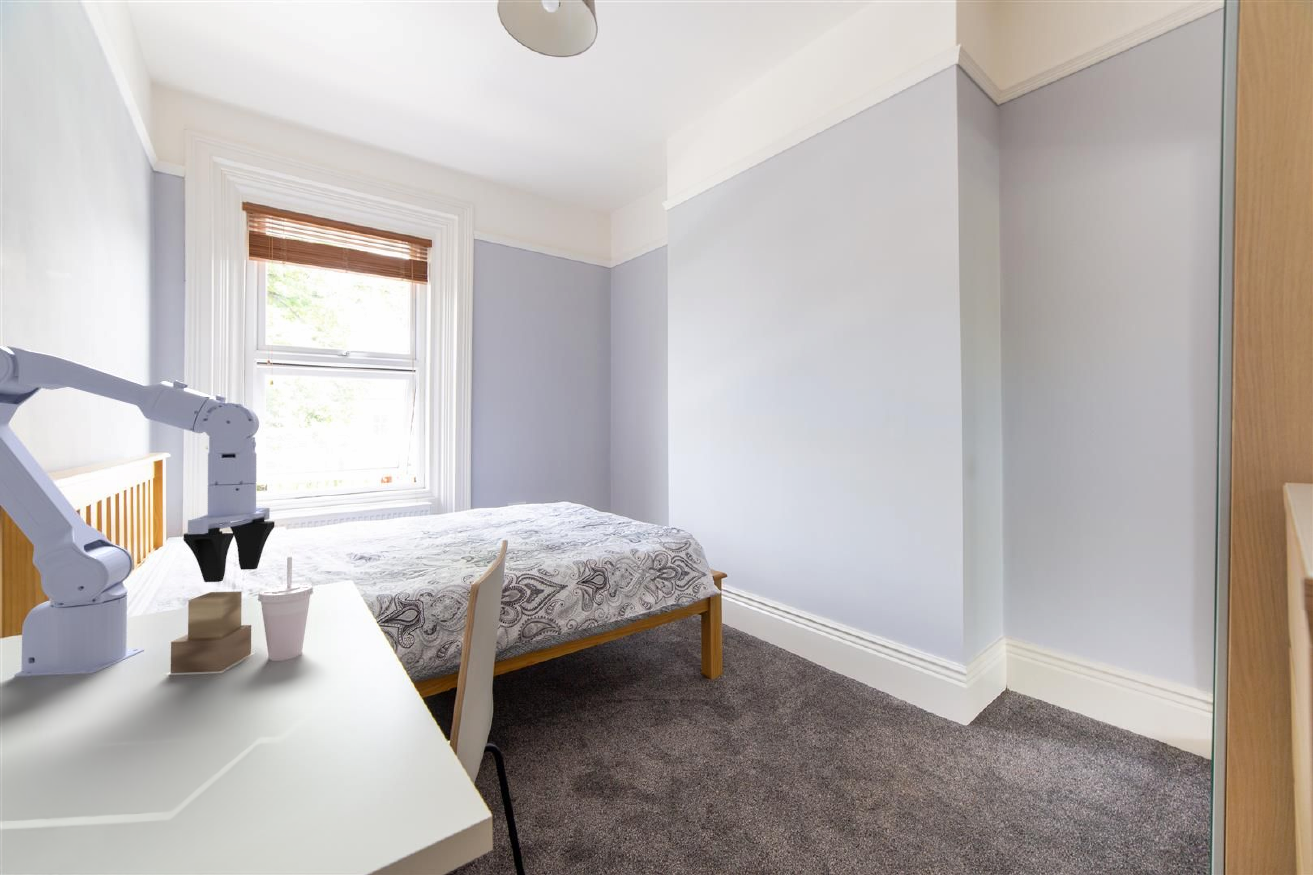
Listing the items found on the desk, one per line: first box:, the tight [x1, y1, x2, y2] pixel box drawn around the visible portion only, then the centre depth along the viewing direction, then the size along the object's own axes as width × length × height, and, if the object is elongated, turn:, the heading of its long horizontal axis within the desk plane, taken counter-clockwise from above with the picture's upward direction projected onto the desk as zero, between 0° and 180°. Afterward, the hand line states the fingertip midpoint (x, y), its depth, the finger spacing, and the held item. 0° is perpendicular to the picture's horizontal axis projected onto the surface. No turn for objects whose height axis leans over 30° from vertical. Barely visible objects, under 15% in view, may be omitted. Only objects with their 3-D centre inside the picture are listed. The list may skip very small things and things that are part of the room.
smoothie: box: [257, 556, 314, 662], centre depth 75 cm, size 6×6×14 cm
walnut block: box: [170, 624, 252, 673], centre depth 73 cm, size 6×6×4 cm
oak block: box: [187, 590, 243, 639], centre depth 73 cm, size 4×4×5 cm
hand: (232, 575), depth 81 cm, fingers open, 7 cm apart
